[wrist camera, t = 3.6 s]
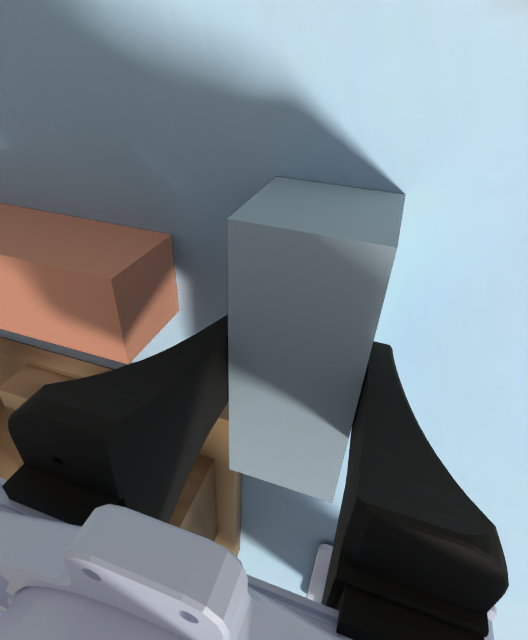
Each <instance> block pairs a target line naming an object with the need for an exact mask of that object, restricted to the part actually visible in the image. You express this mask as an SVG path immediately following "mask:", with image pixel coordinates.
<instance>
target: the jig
mask: <svg viewBox="0 0 528 640" xmlns="http://www.w3.org/2000/svg"><path fill="white" fill-rule="evenodd" d="M111 370H112V369H109V368H105V367H102V366H98V365H95V364H91V363H88V362H84V361H81V360H77V359H74V358H70V357H67V356H64V355H60V354H57V353H53V352H50V351H46V350H43V349H39V348H36V347H32V346H29V345H26V344H22V343H19V342H15V341H12V340H8V339H5V338H1V337H0V477H1V478H3V479H6V480H8V479H9V478H10V477H11V476H12V475H13V474H14V473H15V472H16V471H17V470H18V469H19V468H20V467H21V466H22V465H23V464H24V462H23V460H22V458H21V456H20V454H19V452H18V450H17V448H16V446H15V444H14V442H13V440H12V438H11V436H10V433H9V430H8V418H9V417H10V415H11V414H12V413H13V412H14V411H15V410H16V409H18V408H19V407H20V406H21V405H22V404H23V403H24V402H25V401H27V400H28V399H29V398H30V397H31V396H32V395H33V394H35V393H36V392H37V391H38V390H39V389H40V388H41V387H43V386H44V385H45V384H52V383H57V382H63V381H68V380H74V379H79V378H84V377H88V376H92V375H96V374H100V373H104V372H107V371H111ZM240 511H241V473H240V472H237V471H234V470H230V469H229V403H227V405H226V407H225V408H224V410H223V411H222V413H221V415H220V416H219V418H218V420H217V421H216V423H215V424H214V426H213V428H212V429H211V431H210V433H209V435H208V437H207V438H206V440H205V442H204V444H203V446H202V449H201V451H200V453H199V455H198V457H197V459H196V461H195V463H194V466H193V468H192V470H191V472H190V475H189V477H188V479H187V481H186V484H185V486H184V488H183V490H182V493H181V495H180V497H179V500H178V502H177V505H176V507H175V509H174V512H173V514H172V516H171V519H170V521H169V524H170V525H173V526H176V527H178V528H181V529H183V530H186V531H189V532H191V533H194V534H197V535H199V536H202V537H204V538H207V539H209V540H211V541H213V542H215V543H217V544H219V545H221V546H223V547H225V548H227V549H228V550H229V551H230V552H231V553H232V554H234V555H235V556H236V557H237V556H238V553H239V550H240Z"/></svg>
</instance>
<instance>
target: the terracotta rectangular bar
mask: <svg viewBox="0 0 528 640" xmlns="http://www.w3.org/2000/svg"><path fill="white" fill-rule="evenodd" d="M178 311H179V305H178V295H177V284H176V274H175V264H174V254H173V244H172V234H166V233H161V232H155V231H150V230H144V229H139V228H133V227H128V226H122V225H117V224H111V223H106V222H101V221H95V220H90V219H84V218H79V217H73V216H68V215H62V214H57V213H51V212H46V211H40V210H35V209H29V208H24V207H18V206H13V205H7V204H2V203H0V329H3V330H6V331H10V332H14V333H17V334H21V335H24V336H28V337H32V338H35V339H39V340H42V341H46V342H50V343H53V344H57V345H60V346H64V347H67V348H71V349H75V350H78V351H82V352H85V353H89V354H93V355H96V356H100V357H103V358H107V359H111V360H114V361H118V362H121V363H125V364H129V363H130V362H131V361H132V360H133V359H134V358H135V357H136V356H137V355H138V354H139V353H140V352H141V351H142V350H143V349H144V347H145V346H146V345H147V344H148V343H149V342H150V341H151V340H152V339H153V338H154V337H155V336H156V335H157V334H158V333H159V332H160V330H161V329H162V328H163V327H164V326H165V325H166V324H167V323H168V322H169V321H170V320H171V319H172V318H173V317H174V316H175V315H176V313H177V312H178Z"/></svg>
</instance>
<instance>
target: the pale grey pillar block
mask: <svg viewBox="0 0 528 640" xmlns="http://www.w3.org/2000/svg"><path fill="white" fill-rule="evenodd" d="M404 201H405V194H398V193H391V192H384V191H377V190H370V189H363V188H356V187H348V186H341V185H334V184H327V183H320V182H313V181H306V180H298V179H291V178H284V177H277V176H276V177H275V178H274V179H273V180H271V181H270V182H269V183H268V184H267V185H266V186H264V187H263V188H262V189H261V190H260V191H259V192H257V193H256V194H255V195H254V196H253V197H252V198H251V199H249V200H248V201H247V202H246V203H245V204H244V205H242V206H241V207H240V208H239V209H238V210H237V211H235V212H234V213H233V214H232V215H231V216H230V217H228V218H227V264H228V372H229V469H230V470H234V471H237V472H240V473H243V474H246V475H249V476H252V477H255V478H258V479H261V480H264V481H267V482H270V483H273V484H276V485H279V486H282V487H285V488H288V489H291V490H294V491H297V492H300V493H303V494H306V495H309V496H312V497H315V498H318V499H321V500H324V501H327V502H330V503H332V502H333V498H334V494H335V490H336V486H337V482H338V478H339V474H340V471H341V467H342V463H343V459H344V455H345V451H346V447H347V443H348V439H349V435H350V431H351V427H352V423H353V419H354V416H355V412H356V408H357V404H358V400H359V396H360V392H361V388H362V384H363V380H364V376H365V372H366V368H367V364H368V360H369V357H370V353H371V349H372V345H373V341H374V337H375V333H376V329H377V325H378V321H379V317H380V313H381V309H382V305H383V302H384V298H385V294H386V290H387V286H388V282H389V278H390V274H391V270H392V266H393V262H394V258H395V254H396V250H397V246H398V239H399V233H400V226H401V220H402V214H403V207H404Z"/></svg>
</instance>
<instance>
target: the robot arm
mask: <svg viewBox="0 0 528 640" xmlns="http://www.w3.org/2000/svg"><path fill="white" fill-rule="evenodd" d="M228 402H229V372H228V315H226V316H224V317H223V318H221V319H220V320H218V321H216V322H215V323H213V324H212V325H210V326H208V327H207V328H205V329H203V330H202V331H200V332H198V333H197V334H195V335H193V336H192V337H190V338H188V339H186V340H184V341H182V342H180V343H178V344H177V345H175V346H173V347H171V348H169V349H167V350H165V351H162V352H160V353H158V354H156V355H153V356H151V357H149V358H146V359H144V360H141V361H138V362H135V363H132V364H129V365H126V366H123V367H121V368H118V369H114V370H111V371H107V372H104V373H100V374H96V375H92V376H88V377H84V378H79V379H74V380H68V381H63V382H57V383H52V384H45V385H44V386H43V387H41V388H40V389H39V390H38V391H37V392H36V393H35V394H33V395H32V396H31V397H30V398H29V399H28V400H27V401H25V402H24V403H23V404H22V405H21V406H20V407H19V408H18V409H16V410H15V411H14V412H13V413H12V414H11V415H10V417H9V418H8V430H9V433H10V436H11V438H12V440H13V442H14V444H15V446H16V448H17V450H18V452H19V454H20V456H21V458H22V460H23V462H24V464H23V465H22V466H21V467H20V468H19V469H18V470H17V471H16V472H15V473H14V474H13V475H12V476H11V477H10V478H9V479H8V480H6V479H3V478H1V477H0V640H494V636H493V627H492V620H493V619H494V618H495V617H496V616H497V611H496V607H495V606H494V605H495V604H496V603H497V602H498V601H499V599H500V598H501V597H502V596H503V595H504V594H505V592H506V590H507V588H508V586H509V583H508V572H507V565H506V561H505V557H504V553H503V549H502V546H501V543H500V539H499V536H498V533H497V530H496V527H495V526H494V524H493V523H492V522H491V521H490V520H489V519H488V518H487V517H486V516H485V515H484V514H483V512H482V511H481V510H480V509H479V508H478V507H477V506H476V505H475V504H474V503H473V502H472V501H471V499H470V498H469V497H468V496H467V495H466V494H465V493H464V491H463V490H462V489H461V488H460V486H459V485H458V484H457V483H456V481H455V480H454V479H453V477H452V476H451V475H450V473H449V472H448V470H447V469H446V468H445V466H444V465H443V463H442V462H441V460H440V459H439V458H438V456H437V455H436V453H435V452H434V450H433V448H432V447H431V445H430V444H429V442H428V440H427V439H426V437H425V435H424V433H423V431H422V430H421V428H420V426H419V424H418V422H417V420H416V418H415V416H414V414H413V412H412V410H411V407H410V405H409V403H408V400H407V398H406V396H405V393H404V390H403V387H402V385H401V382H400V379H399V376H398V373H397V369H396V366H395V362H394V357H393V351H392V348H391V346H390V345H387V344H383V343H378V342H374V341H373V345H372V349H371V353H370V357H369V360H368V364H367V368H366V372H365V376H364V380H363V384H362V388H361V392H360V396H359V400H358V404H357V408H356V412H355V416H354V419H353V423H352V429H351V439H350V450H349V460H348V470H347V478H346V485H345V490H344V495H343V500H342V505H341V510H340V515H339V520H338V525H337V530H336V534H335V539H334V544H333V546H331V545H328V544H321V545H320V546H319V548H318V552H317V556H316V560H315V564H314V568H313V572H312V576H311V580H310V584H309V588H308V592H307V596H306V598H305V597H302V596H300V595H297V594H295V593H292V592H290V591H287V590H285V589H282V588H280V587H277V586H274V585H272V584H269V583H267V582H264V581H262V580H259V579H257V578H254V577H252V576H249V575H247V574H246V572H245V570H244V568H243V565H242V563H241V561H240V560H239V559H238V558H237V557H236V556H235V555H234V554H232V553H231V552H230V551H229V550H228V549H227V548H225V547H223V546H221V545H219V544H217V543H215V542H213V541H211V540H209V539H207V538H204V537H202V536H199V535H197V534H194V533H191V532H189V531H186V530H183V529H181V528H178V527H176V526H173V525H170V524H169V521H170V519H171V516H172V514H173V512H174V509H175V507H176V505H177V502H178V500H179V497H180V495H181V493H182V490H183V488H184V486H185V484H186V481H187V479H188V477H189V475H190V472H191V470H192V468H193V466H194V463H195V461H196V459H197V457H198V455H199V453H200V451H201V449H202V446H203V444H204V442H205V440H206V438H207V437H208V435H209V433H210V431H211V429H212V428H213V426H214V424H215V423H216V421H217V420H218V418H219V416H220V415H221V413H222V411H223V410H224V408H225V407H226V405H227V403H228Z"/></svg>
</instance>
